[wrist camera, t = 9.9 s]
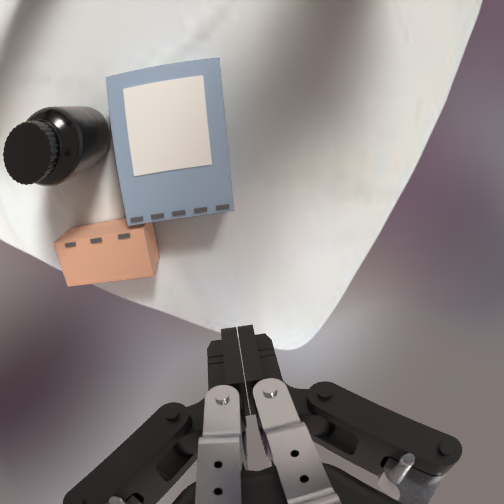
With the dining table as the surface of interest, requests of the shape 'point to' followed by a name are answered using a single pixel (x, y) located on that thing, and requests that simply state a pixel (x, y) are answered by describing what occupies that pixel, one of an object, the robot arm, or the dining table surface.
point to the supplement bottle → (56, 145)
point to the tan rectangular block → (107, 252)
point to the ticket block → (171, 141)
